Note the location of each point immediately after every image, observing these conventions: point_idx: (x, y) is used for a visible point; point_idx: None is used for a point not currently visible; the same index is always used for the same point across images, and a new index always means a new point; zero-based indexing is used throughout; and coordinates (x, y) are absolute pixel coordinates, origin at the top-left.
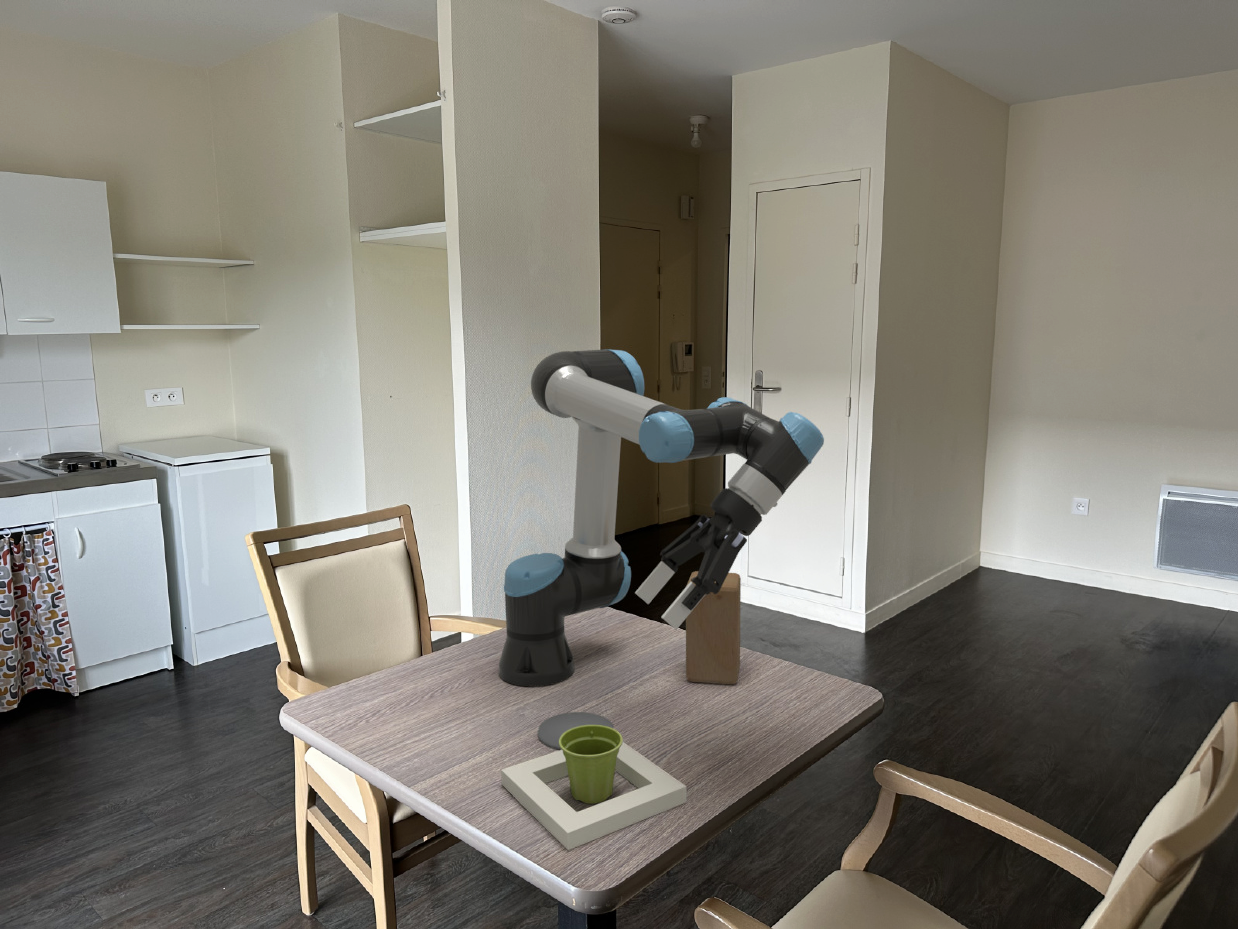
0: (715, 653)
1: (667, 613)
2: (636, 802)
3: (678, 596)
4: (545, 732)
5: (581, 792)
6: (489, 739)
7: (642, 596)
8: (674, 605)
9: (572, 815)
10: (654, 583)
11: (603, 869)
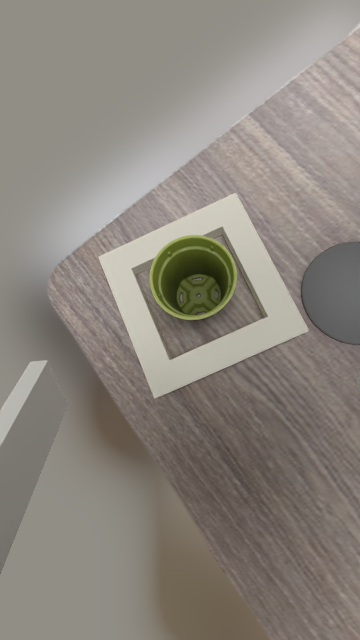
0: None
1: (20, 379)
2: (134, 333)
3: (2, 439)
4: (352, 251)
5: (177, 279)
6: (350, 185)
7: None
8: (1, 409)
9: (126, 263)
10: None
11: (71, 291)
